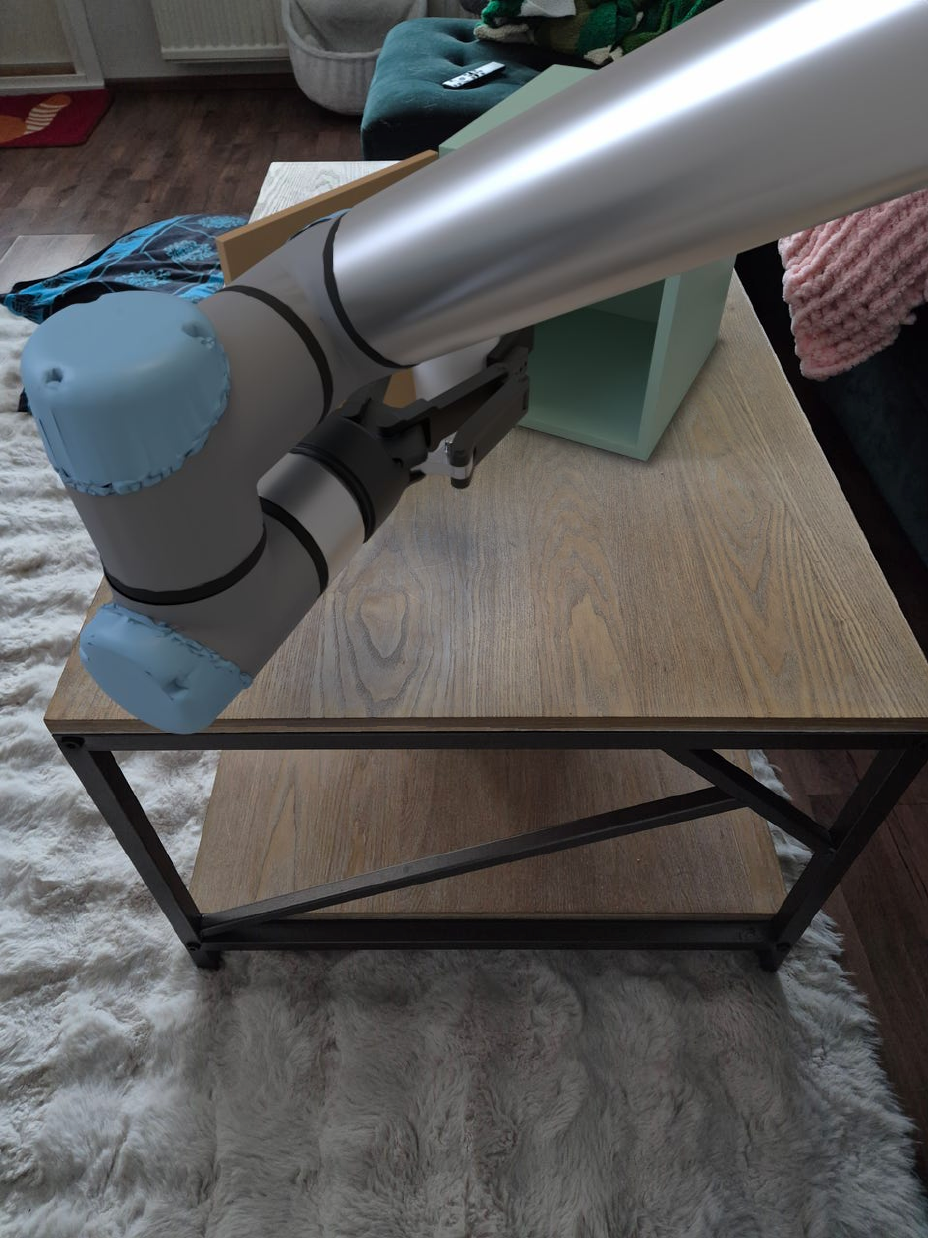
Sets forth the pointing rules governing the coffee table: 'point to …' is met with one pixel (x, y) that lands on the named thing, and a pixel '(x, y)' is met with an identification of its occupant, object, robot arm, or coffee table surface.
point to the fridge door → (274, 230)
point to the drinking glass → (450, 371)
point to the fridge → (614, 333)
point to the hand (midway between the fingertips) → (485, 320)
